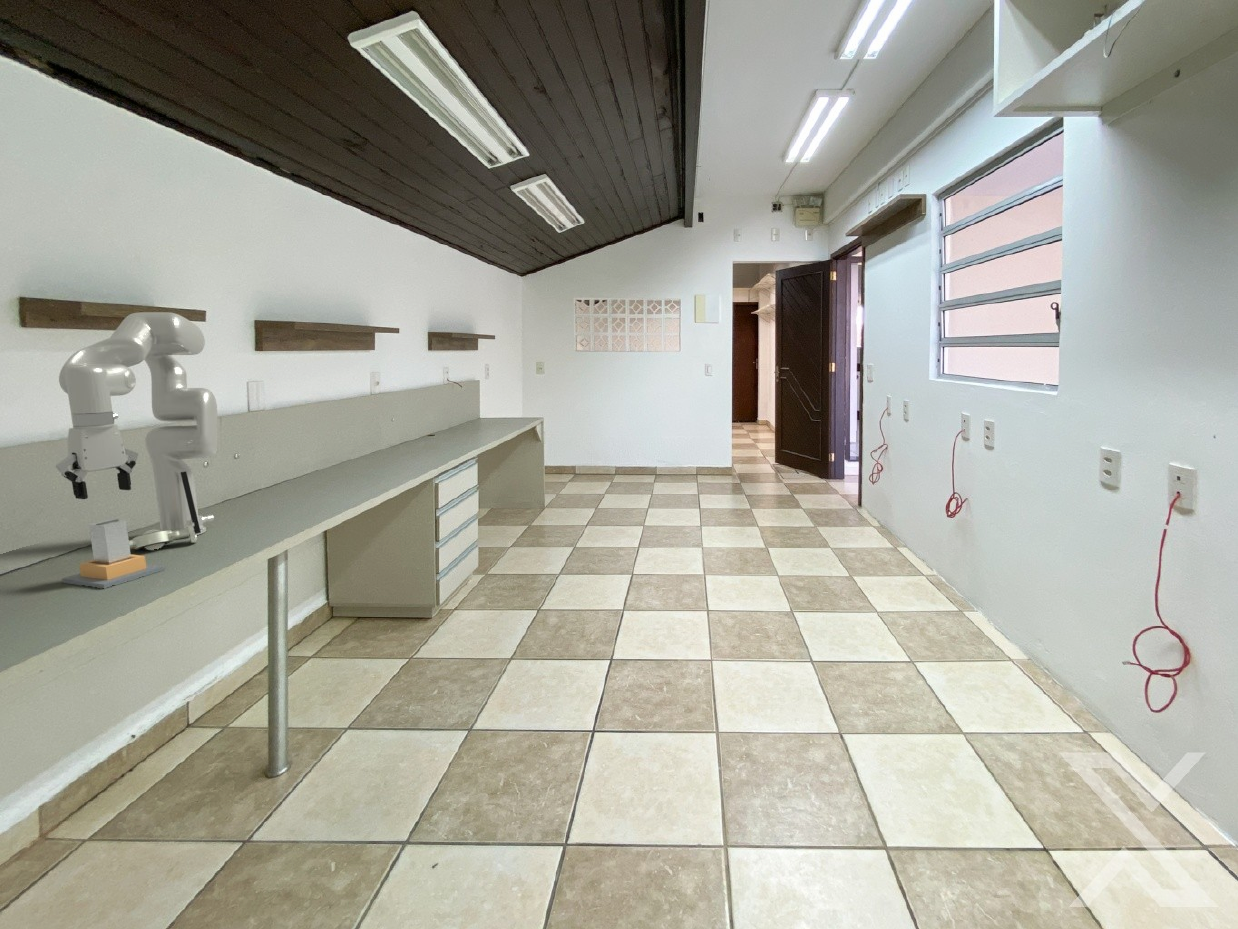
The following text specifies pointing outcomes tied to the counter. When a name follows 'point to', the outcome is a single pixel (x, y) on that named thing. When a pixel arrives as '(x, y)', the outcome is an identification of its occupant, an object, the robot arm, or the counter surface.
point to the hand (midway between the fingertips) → (104, 494)
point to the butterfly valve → (160, 538)
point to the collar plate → (112, 572)
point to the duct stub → (110, 541)
